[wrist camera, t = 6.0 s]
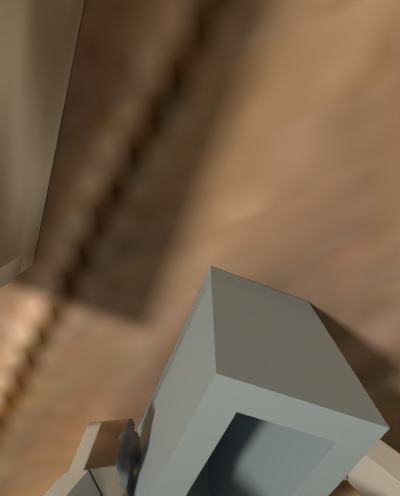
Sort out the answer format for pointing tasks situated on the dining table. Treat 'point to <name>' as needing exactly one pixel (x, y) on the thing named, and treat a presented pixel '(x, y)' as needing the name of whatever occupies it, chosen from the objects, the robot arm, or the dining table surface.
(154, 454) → the box
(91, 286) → the dining table surface
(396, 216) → the dining table surface
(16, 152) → the beige shallow tray
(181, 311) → the dining table surface
